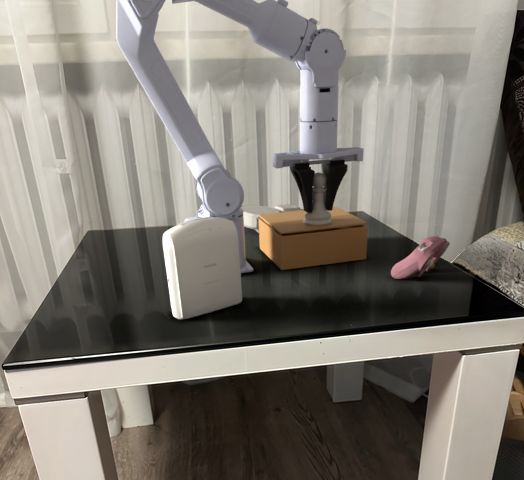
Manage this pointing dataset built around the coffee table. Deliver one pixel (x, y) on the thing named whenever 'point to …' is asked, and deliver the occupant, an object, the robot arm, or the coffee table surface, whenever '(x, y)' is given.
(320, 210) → the chess piece
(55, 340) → the coffee table surface
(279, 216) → the flap
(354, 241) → the carton
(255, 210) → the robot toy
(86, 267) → the coffee table surface
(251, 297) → the coffee table surface
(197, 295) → the photo printer
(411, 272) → the pink shoe
